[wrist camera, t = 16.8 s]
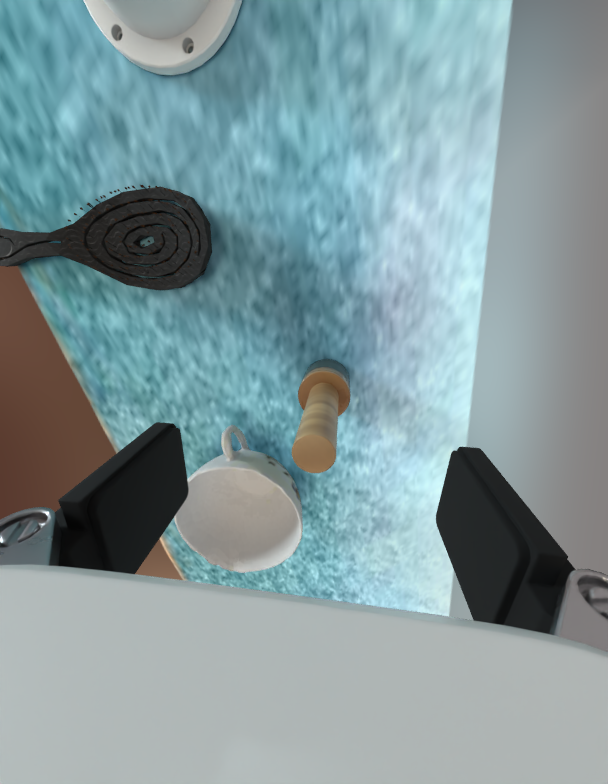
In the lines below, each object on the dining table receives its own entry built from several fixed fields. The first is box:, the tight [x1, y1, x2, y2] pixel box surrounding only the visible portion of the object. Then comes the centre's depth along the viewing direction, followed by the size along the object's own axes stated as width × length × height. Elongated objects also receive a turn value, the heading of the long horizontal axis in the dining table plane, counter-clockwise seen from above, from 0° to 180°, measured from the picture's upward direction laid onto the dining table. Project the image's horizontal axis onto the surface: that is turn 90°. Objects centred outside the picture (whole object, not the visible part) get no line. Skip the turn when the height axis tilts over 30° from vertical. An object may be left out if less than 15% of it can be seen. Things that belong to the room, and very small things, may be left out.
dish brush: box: [292, 359, 350, 473], centre depth 24 cm, size 5×5×14 cm
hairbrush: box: [0, 185, 212, 290], centre depth 27 cm, size 8×4×25 cm
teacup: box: [174, 425, 303, 573], centre depth 31 cm, size 15×12×8 cm
